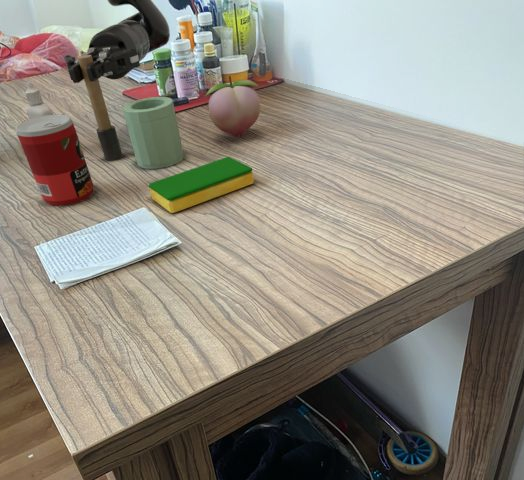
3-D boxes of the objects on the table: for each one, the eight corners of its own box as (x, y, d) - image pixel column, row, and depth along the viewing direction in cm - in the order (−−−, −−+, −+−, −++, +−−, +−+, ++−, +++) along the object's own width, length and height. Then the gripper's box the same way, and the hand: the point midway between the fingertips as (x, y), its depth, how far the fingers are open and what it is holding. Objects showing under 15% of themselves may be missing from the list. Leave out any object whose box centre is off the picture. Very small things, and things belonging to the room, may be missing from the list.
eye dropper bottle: (63, 144, 100) (40, 77, 92) (67, 152, 96) (42, 83, 88) (41, 149, 99) (15, 82, 91) (43, 158, 95) (16, 88, 87)
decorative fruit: (254, 124, 97) (248, 66, 91) (268, 137, 91) (262, 75, 84) (207, 134, 95) (197, 75, 89) (217, 148, 89) (207, 85, 83)
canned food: (91, 203, 77) (65, 127, 70) (38, 210, 77) (7, 135, 70) (99, 182, 83) (76, 111, 76) (50, 189, 83) (22, 118, 76)
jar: (154, 172, 84) (140, 114, 78) (128, 162, 88) (113, 107, 83) (192, 156, 87) (182, 100, 82) (166, 148, 92) (154, 94, 86)
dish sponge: (151, 199, 76) (147, 183, 74) (230, 171, 81) (228, 155, 79) (172, 214, 71) (168, 198, 69) (255, 183, 76) (253, 167, 74)
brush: (110, 162, 90) (80, 59, 79) (101, 158, 92) (70, 58, 81) (126, 155, 91) (98, 54, 81) (117, 152, 93) (88, 53, 83)
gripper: (74, 30, 92) (31, 52, 79) (148, 22, 89) (116, 43, 77) (88, 76, 96) (49, 104, 84) (158, 70, 94) (130, 97, 81)
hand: (81, 75), depth 80 cm, fingers closed on brush, 2 cm apart
